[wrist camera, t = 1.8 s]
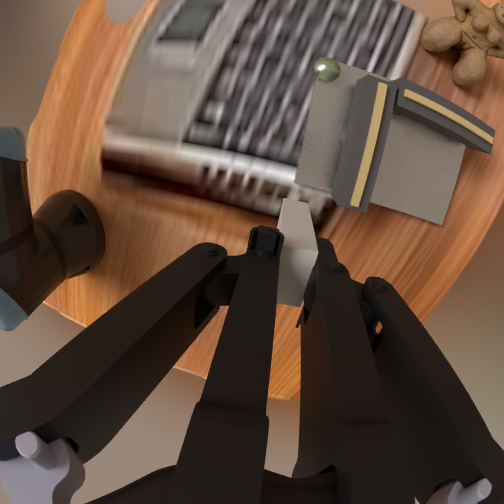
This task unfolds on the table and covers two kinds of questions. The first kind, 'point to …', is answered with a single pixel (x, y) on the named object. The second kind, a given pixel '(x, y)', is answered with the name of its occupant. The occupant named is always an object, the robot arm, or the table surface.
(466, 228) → the table surface
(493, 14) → the figurine
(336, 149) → the level plate
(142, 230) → the table surface
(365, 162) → the striped dark bar
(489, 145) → the curved tan-striped slab
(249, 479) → the robot arm
